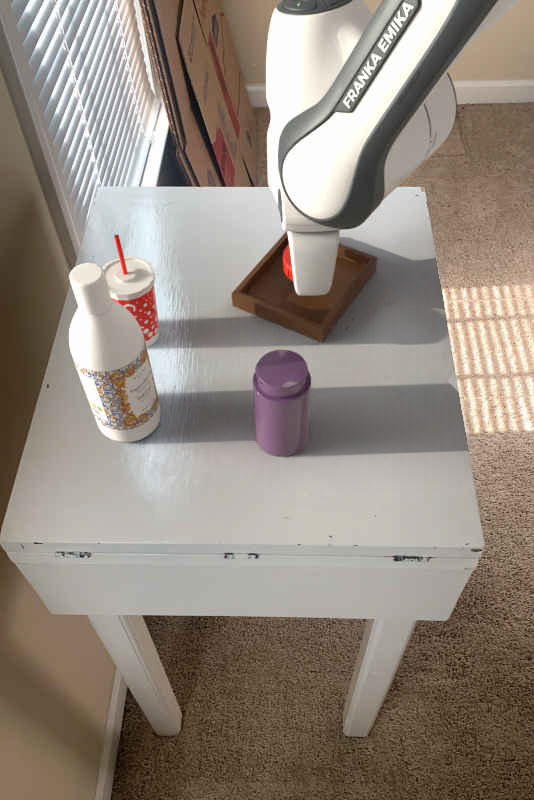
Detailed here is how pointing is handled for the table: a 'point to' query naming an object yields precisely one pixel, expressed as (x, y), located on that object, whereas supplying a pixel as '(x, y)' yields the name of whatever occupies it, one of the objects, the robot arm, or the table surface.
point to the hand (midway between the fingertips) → (305, 271)
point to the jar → (281, 402)
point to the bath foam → (112, 359)
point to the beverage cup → (134, 290)
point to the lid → (287, 263)
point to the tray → (306, 315)
